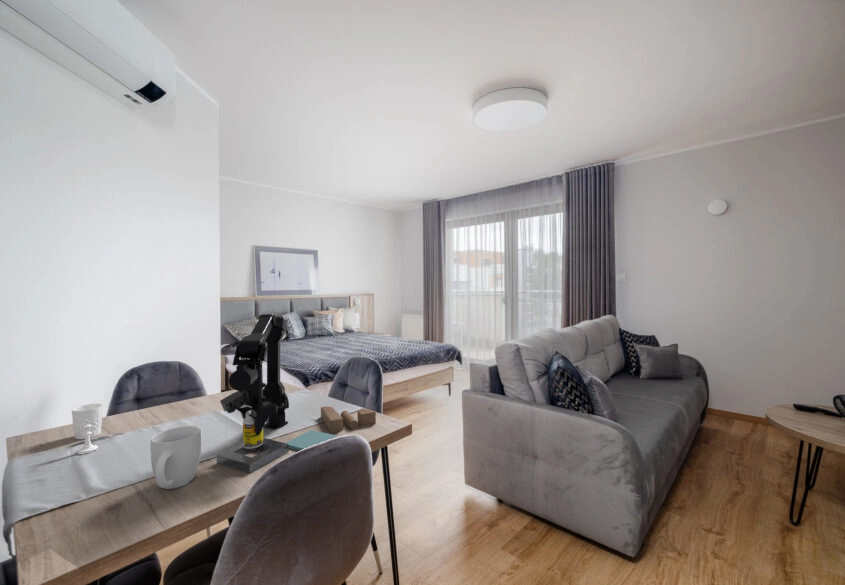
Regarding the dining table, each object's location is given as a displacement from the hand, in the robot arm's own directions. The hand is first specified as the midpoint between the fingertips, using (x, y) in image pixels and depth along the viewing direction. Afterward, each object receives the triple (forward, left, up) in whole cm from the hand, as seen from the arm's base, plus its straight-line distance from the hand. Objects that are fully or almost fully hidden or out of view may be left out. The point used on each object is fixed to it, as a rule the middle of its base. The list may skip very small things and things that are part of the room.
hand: (253, 432), depth 108 cm
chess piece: (-52, -19, -8) cm, 56 cm away
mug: (-6, -19, -8) cm, 21 cm away
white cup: (-67, -13, -8) cm, 69 cm away
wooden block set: (+8, +36, -8) cm, 37 cm away
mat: (+9, +15, -8) cm, 19 cm away
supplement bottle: (0, 0, -4) cm, 4 cm away
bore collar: (0, 0, -8) cm, 8 cm away
